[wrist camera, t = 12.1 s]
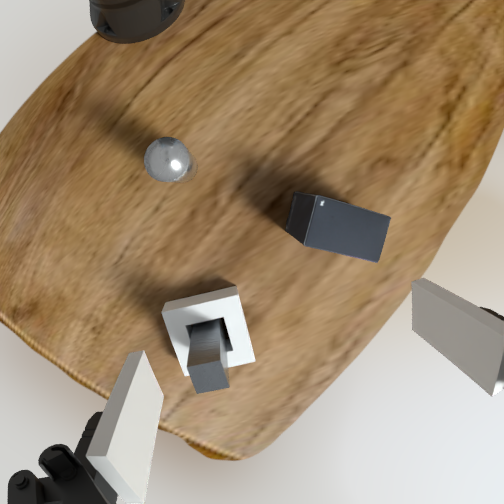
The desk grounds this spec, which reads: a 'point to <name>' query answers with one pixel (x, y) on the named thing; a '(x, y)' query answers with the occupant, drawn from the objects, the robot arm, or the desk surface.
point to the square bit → (208, 356)
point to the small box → (337, 226)
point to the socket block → (204, 309)
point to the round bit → (170, 161)
